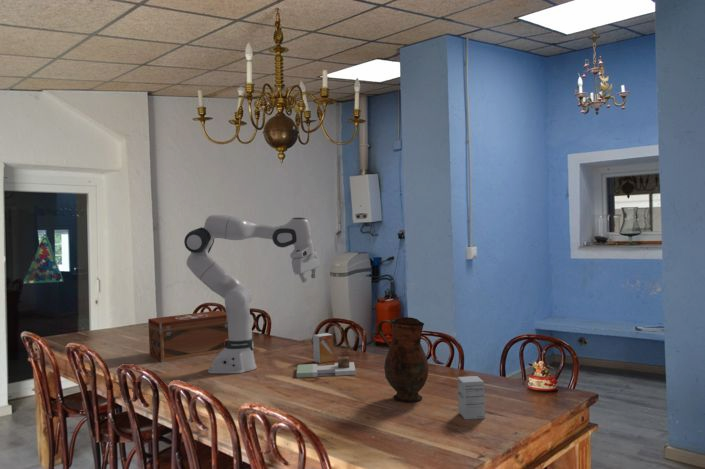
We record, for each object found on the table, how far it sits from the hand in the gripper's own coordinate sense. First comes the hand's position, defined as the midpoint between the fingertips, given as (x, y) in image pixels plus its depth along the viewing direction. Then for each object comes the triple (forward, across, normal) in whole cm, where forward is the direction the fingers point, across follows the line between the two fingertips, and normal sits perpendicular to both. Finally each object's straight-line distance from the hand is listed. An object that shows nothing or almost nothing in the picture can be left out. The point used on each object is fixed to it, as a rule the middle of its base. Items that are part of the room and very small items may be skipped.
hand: (309, 280), depth 284 cm
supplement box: (+42, +53, +84) cm, 108 cm away
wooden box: (+36, -5, -82) cm, 89 cm away
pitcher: (+41, +40, +55) cm, 79 cm away
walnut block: (+40, +8, +15) cm, 43 cm away
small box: (+42, -7, -3) cm, 43 cm away
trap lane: (+40, +12, +8) cm, 43 cm away
